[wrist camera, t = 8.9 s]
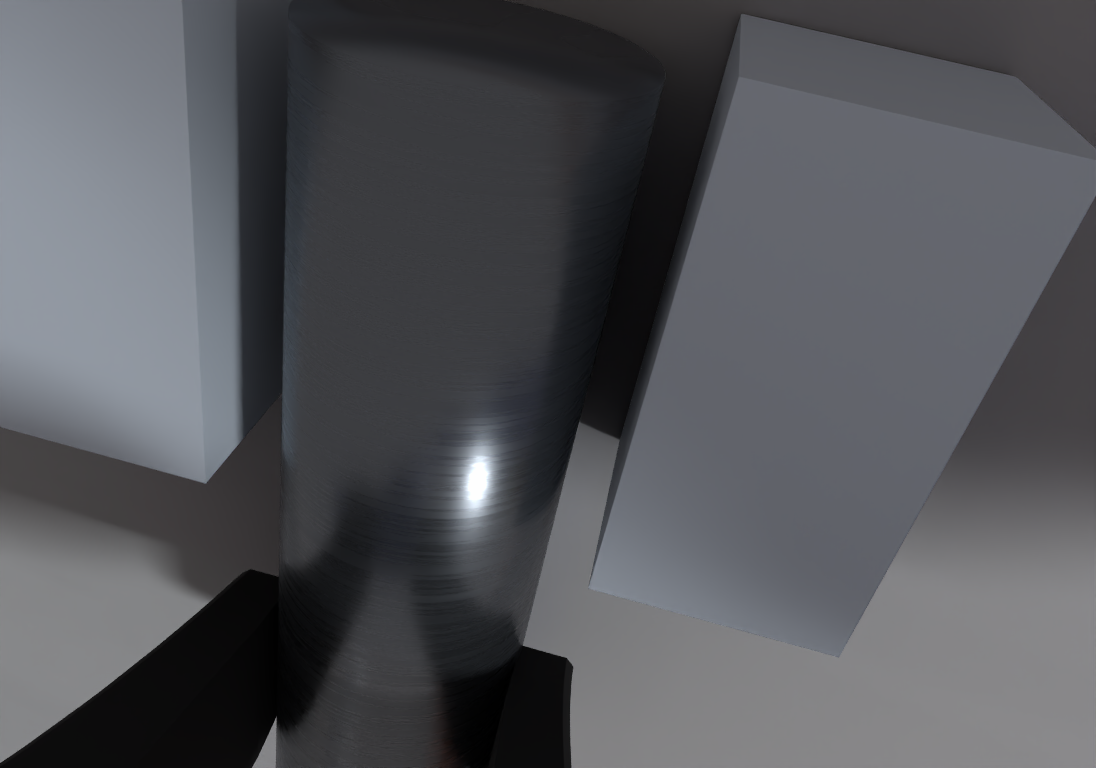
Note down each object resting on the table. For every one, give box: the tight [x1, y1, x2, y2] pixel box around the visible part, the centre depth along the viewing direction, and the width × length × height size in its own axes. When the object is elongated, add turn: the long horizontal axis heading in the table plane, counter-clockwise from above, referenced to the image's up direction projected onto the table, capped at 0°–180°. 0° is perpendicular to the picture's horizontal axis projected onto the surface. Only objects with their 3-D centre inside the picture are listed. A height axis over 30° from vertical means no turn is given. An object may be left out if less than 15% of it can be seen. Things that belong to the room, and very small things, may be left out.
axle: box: [276, 0, 665, 768], centre depth 10 cm, size 10×3×3 cm, turn 170°
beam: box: [0, 0, 1096, 657], centre depth 8 cm, size 9×5×2 cm, turn 80°
